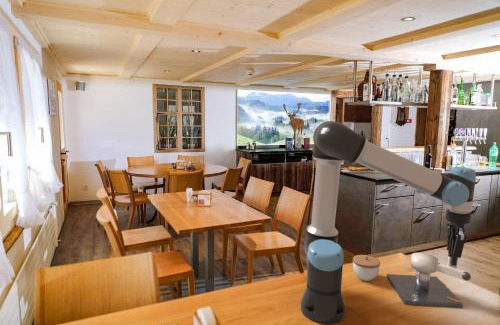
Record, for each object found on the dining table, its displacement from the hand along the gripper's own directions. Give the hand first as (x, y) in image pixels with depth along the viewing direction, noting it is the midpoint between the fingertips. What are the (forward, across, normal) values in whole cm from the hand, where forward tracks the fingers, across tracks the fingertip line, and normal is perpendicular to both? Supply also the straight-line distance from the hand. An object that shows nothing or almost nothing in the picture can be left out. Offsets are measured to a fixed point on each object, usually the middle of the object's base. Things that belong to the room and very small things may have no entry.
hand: (451, 272), depth 124 cm
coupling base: (+10, -3, -9) cm, 14 cm away
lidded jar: (+11, -8, -29) cm, 32 cm away
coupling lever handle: (+1, 0, -4) cm, 4 cm away
